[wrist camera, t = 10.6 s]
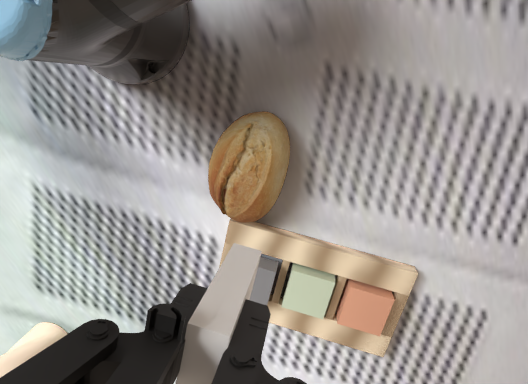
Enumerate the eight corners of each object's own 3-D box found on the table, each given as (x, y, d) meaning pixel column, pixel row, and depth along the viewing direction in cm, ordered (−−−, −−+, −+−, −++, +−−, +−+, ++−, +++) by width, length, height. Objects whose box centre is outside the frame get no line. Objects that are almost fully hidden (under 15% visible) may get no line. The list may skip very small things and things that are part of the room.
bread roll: (209, 204, 51) (189, 224, 43) (231, 100, 46) (213, 102, 39) (273, 223, 50) (264, 247, 43) (302, 119, 46) (298, 125, 38)
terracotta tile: (336, 310, 52) (337, 323, 49) (348, 275, 50) (350, 287, 47) (376, 322, 52) (379, 336, 49) (390, 287, 50) (394, 300, 47)
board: (215, 297, 55) (211, 304, 53) (233, 215, 51) (229, 220, 49) (381, 347, 53) (383, 357, 51) (414, 266, 49) (418, 273, 47)
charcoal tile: (229, 286, 52) (223, 297, 49) (237, 250, 50) (232, 259, 47) (268, 297, 51) (265, 310, 48) (278, 261, 49) (276, 272, 46)
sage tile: (283, 295, 53) (281, 307, 50) (293, 260, 51) (292, 270, 48) (322, 306, 52) (323, 319, 49) (334, 271, 50) (335, 282, 48)
